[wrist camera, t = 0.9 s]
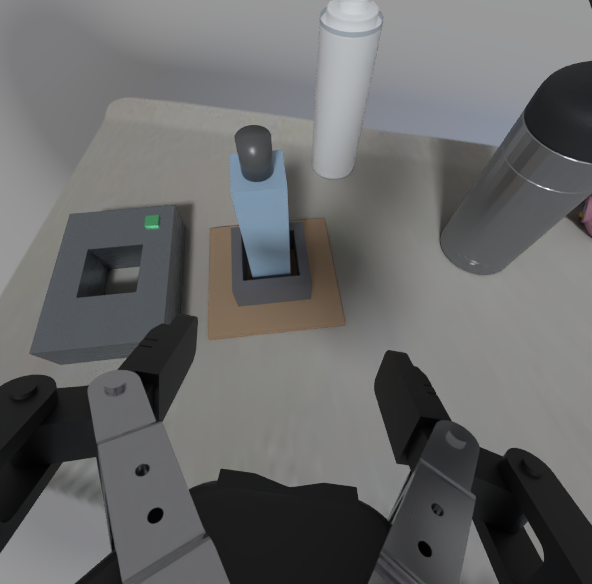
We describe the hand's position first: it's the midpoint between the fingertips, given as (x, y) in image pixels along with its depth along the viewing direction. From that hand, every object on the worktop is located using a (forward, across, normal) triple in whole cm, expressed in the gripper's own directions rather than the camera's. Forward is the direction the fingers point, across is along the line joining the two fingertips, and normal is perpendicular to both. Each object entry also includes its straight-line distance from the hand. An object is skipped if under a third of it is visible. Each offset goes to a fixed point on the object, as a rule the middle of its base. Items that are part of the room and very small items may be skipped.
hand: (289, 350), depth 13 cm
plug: (+26, +2, +7) cm, 27 cm away
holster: (+26, +2, +7) cm, 27 cm away
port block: (+24, +19, +12) cm, 33 cm away
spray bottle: (+42, -4, -6) cm, 43 cm away
